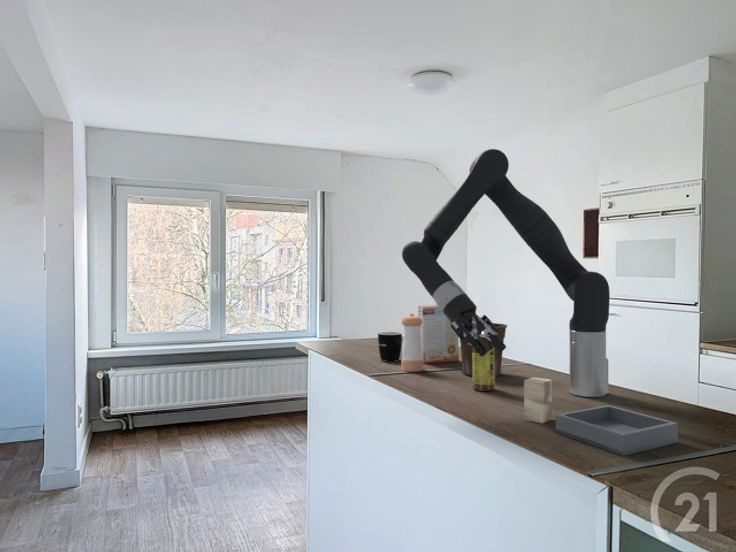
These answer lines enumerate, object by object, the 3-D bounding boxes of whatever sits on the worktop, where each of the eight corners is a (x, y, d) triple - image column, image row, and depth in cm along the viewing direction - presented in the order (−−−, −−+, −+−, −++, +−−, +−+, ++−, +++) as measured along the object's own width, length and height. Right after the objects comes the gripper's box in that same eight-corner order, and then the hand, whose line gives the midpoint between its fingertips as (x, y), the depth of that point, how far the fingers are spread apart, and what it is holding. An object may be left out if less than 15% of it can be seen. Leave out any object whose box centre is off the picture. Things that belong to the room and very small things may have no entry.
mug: (374, 359, 205) (373, 332, 205) (394, 357, 209) (394, 331, 209) (388, 364, 194) (388, 336, 194) (410, 362, 198) (410, 334, 198)
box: (608, 422, 120) (608, 405, 120) (677, 442, 106) (677, 423, 106) (555, 432, 113) (555, 414, 113) (623, 456, 99) (623, 435, 98)
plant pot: (475, 367, 187) (474, 320, 187) (517, 373, 176) (516, 324, 176) (446, 374, 176) (446, 324, 176) (489, 381, 164) (489, 328, 164)
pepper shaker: (422, 372, 179) (421, 314, 179) (400, 371, 181) (400, 314, 180) (423, 368, 187) (423, 312, 186) (402, 367, 188) (402, 312, 187)
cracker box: (452, 359, 204) (452, 303, 204) (459, 361, 198) (459, 304, 198) (417, 361, 200) (417, 304, 200) (423, 363, 195) (423, 305, 194)
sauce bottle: (495, 392, 150) (495, 320, 149) (472, 391, 151) (472, 320, 150) (494, 387, 156) (494, 318, 156) (472, 386, 157) (472, 318, 157)
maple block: (533, 415, 126) (533, 377, 126) (551, 419, 123) (551, 379, 123) (524, 419, 122) (524, 380, 122) (543, 423, 119) (543, 383, 119)
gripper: (446, 293, 130) (489, 345, 123) (478, 291, 141) (518, 339, 133) (429, 314, 134) (469, 365, 127) (460, 310, 145) (499, 358, 137)
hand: (494, 352), depth 130 cm, fingers open, 8 cm apart
